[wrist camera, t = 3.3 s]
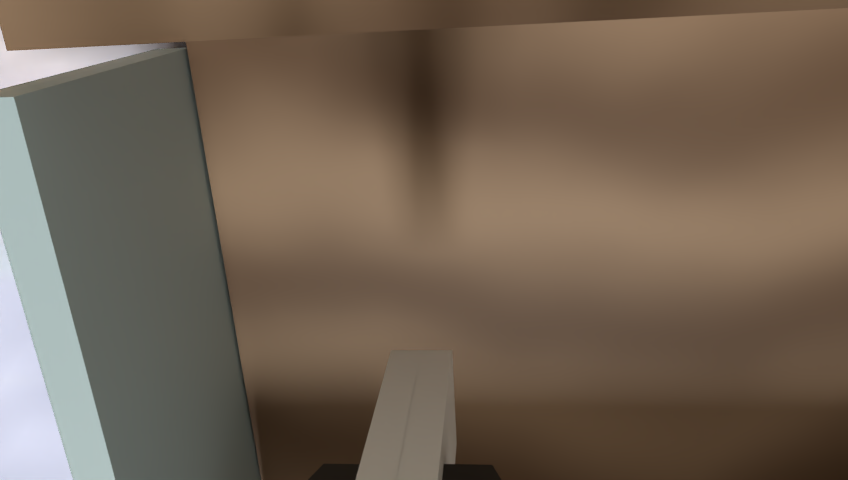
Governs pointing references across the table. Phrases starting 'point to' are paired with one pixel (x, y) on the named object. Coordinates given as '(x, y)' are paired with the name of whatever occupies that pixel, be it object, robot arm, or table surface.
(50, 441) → the table surface
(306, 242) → the brown open rectangular box
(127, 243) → the panel
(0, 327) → the table surface
